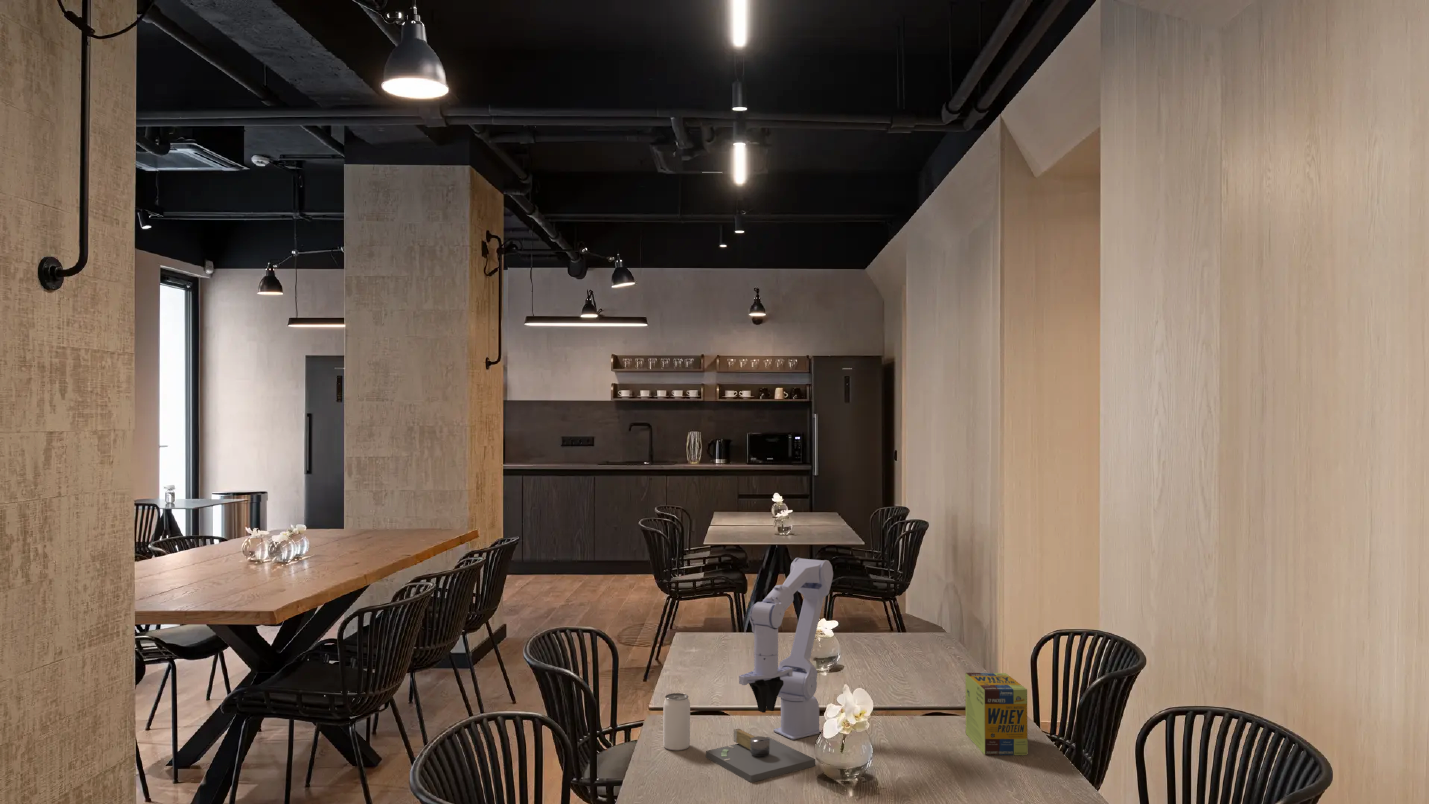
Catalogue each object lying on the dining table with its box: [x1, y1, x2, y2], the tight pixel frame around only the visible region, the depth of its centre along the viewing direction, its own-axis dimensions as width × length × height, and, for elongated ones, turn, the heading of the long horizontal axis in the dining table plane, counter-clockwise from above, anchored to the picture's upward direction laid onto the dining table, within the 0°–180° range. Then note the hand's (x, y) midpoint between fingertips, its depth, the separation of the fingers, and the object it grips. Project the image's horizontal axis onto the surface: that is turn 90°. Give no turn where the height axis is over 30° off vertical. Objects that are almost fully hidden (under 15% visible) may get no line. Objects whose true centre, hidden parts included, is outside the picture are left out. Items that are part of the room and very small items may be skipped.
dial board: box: [705, 736, 816, 783], centre depth 209 cm, size 18×18×2 cm
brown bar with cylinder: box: [733, 728, 770, 756], centre depth 212 cm, size 4×12×3 cm, turn 33°
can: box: [662, 692, 691, 752], centre depth 219 cm, size 6×6×12 cm
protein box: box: [964, 672, 1029, 756], centre depth 221 cm, size 10×15×16 cm
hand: (766, 710), depth 216 cm, fingers closed
